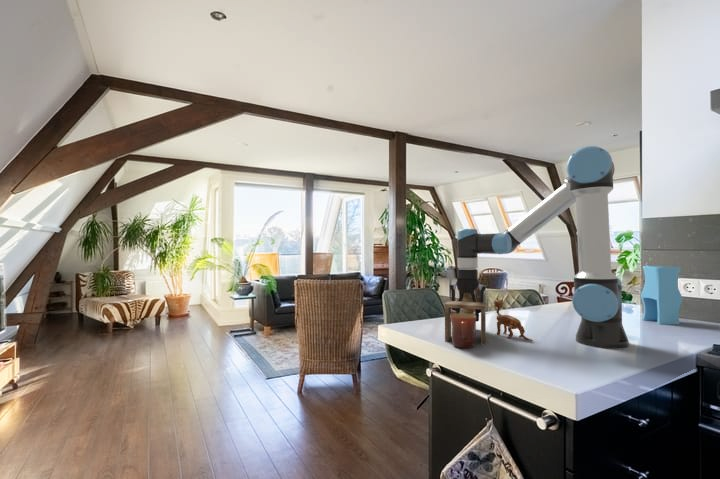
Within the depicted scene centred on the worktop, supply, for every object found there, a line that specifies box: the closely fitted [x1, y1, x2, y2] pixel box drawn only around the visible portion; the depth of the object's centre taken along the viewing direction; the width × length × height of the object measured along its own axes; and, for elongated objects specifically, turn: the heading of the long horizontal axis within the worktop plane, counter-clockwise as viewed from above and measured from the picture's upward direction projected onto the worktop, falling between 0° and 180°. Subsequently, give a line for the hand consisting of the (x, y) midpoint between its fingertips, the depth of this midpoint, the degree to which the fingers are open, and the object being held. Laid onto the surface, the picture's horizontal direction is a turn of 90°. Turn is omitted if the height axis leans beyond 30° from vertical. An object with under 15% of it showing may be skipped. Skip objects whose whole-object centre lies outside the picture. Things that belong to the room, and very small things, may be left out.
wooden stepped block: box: [462, 290, 476, 315], centre depth 138 cm, size 4×25×20 cm, turn 159°
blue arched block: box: [640, 265, 683, 325], centre depth 158 cm, size 10×10×25 cm
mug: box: [450, 313, 477, 350], centre depth 121 cm, size 12×9×10 cm
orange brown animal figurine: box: [493, 297, 533, 342], centre depth 134 cm, size 18×7×14 cm, turn 22°
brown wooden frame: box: [444, 300, 487, 346], centre depth 130 cm, size 13×8×13 cm, turn 69°
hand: (467, 329), depth 140 cm, fingers closed on wooden stepped block, 4 cm apart
